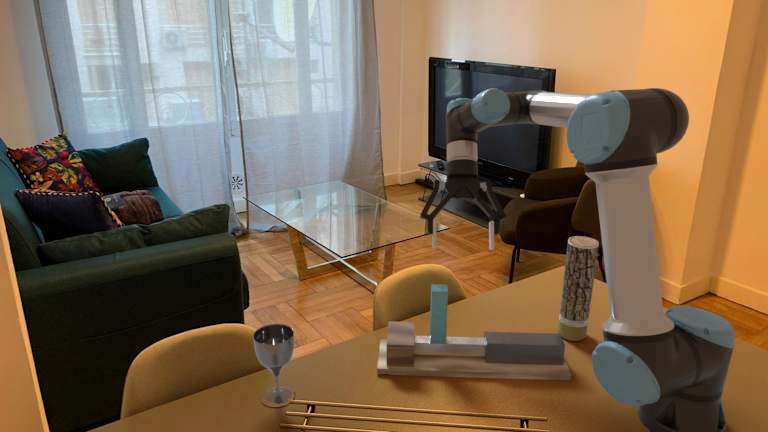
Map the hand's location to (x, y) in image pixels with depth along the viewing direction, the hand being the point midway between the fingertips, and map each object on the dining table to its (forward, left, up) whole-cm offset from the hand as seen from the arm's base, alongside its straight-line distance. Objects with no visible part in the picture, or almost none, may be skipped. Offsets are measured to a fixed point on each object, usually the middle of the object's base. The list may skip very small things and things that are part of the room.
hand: (463, 248), depth 136 cm
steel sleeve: (-13, -13, -21) cm, 28 cm away
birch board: (-13, -2, -23) cm, 26 cm away
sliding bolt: (-13, +2, -20) cm, 24 cm away
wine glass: (-28, +39, -23) cm, 53 cm away
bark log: (0, -28, -23) cm, 36 cm away
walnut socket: (-13, +14, -21) cm, 28 cm away
